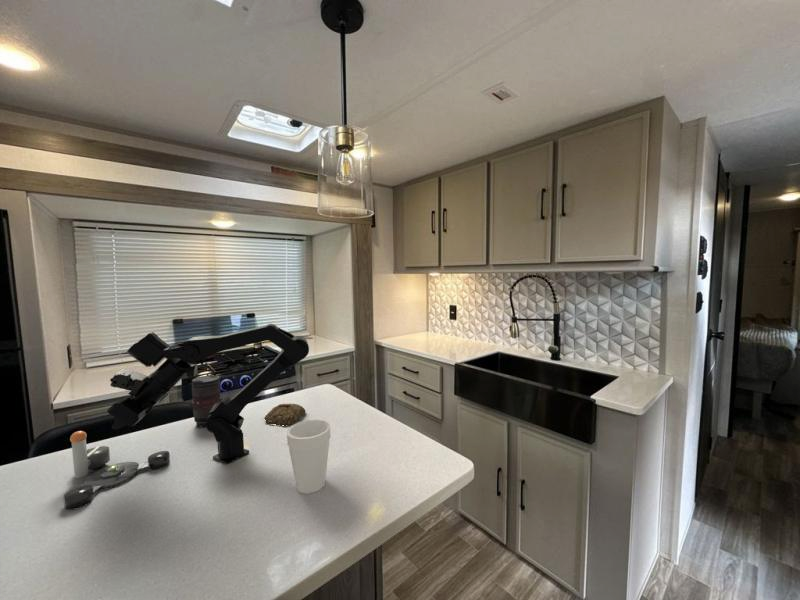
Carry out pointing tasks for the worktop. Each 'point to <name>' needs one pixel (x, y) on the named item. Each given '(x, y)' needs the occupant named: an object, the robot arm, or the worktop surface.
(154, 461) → the tribrach
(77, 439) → the footscrew lever
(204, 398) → the camera lens
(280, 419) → the brown rock
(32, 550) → the worktop surface
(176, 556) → the worktop surface
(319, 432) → the foam cup
